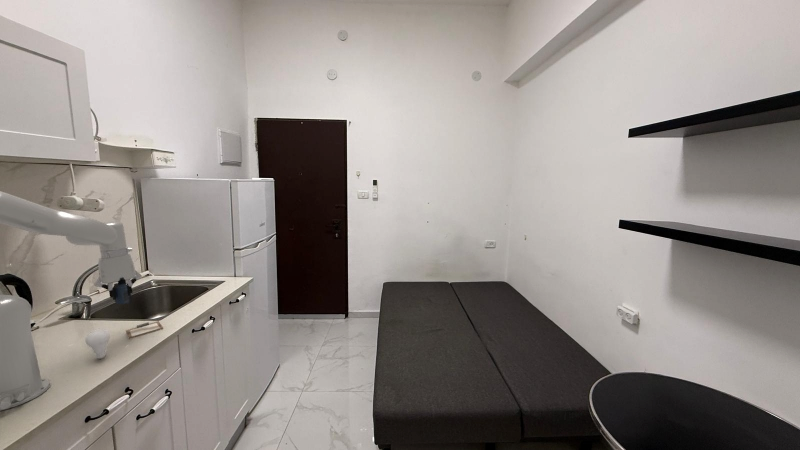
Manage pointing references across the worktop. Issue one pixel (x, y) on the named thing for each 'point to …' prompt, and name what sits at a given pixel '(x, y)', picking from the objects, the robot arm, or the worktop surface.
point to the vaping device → (121, 292)
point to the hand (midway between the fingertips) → (121, 296)
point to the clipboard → (143, 329)
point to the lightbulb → (98, 342)
